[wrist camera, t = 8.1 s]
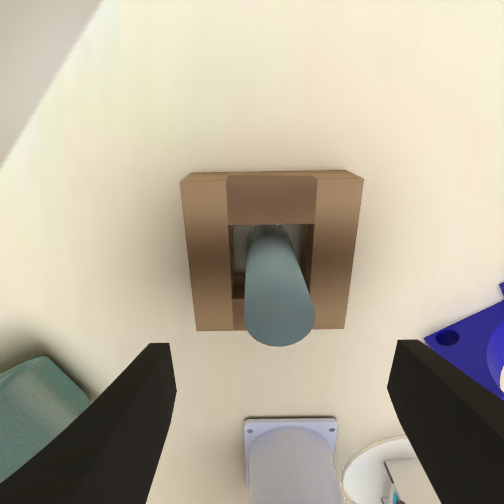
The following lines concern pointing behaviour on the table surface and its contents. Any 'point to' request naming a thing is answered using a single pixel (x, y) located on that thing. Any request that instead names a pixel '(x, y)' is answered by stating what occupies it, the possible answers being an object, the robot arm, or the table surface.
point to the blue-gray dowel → (275, 289)
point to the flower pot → (34, 410)
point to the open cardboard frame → (270, 212)
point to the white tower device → (388, 475)
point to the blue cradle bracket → (475, 346)
